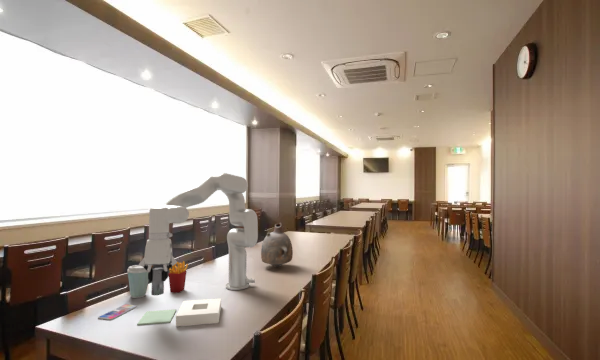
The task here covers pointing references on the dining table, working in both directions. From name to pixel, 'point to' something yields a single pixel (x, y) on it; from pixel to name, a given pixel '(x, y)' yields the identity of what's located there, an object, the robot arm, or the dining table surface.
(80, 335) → the dining table surface
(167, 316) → the pad
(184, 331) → the dining table surface
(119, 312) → the smartphone
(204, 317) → the pocket block
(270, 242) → the jug
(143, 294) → the disposable coffee cup
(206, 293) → the dining table surface
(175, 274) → the french fries
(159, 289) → the peg
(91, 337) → the dining table surface
